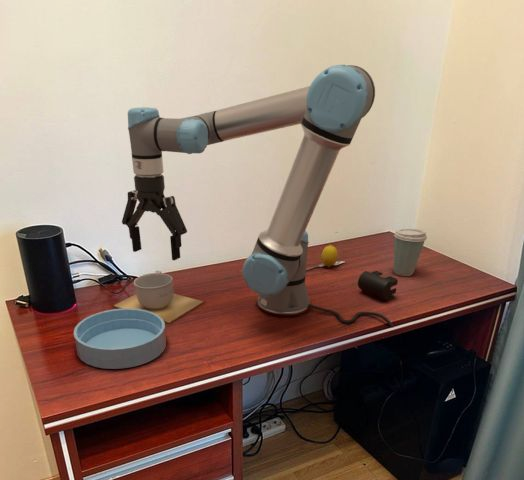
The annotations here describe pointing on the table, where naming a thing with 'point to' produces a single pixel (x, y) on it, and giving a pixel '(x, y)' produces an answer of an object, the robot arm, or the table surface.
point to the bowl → (120, 338)
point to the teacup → (154, 290)
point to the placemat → (168, 313)
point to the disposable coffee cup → (407, 250)
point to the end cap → (377, 285)
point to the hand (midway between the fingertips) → (156, 254)
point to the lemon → (329, 255)
